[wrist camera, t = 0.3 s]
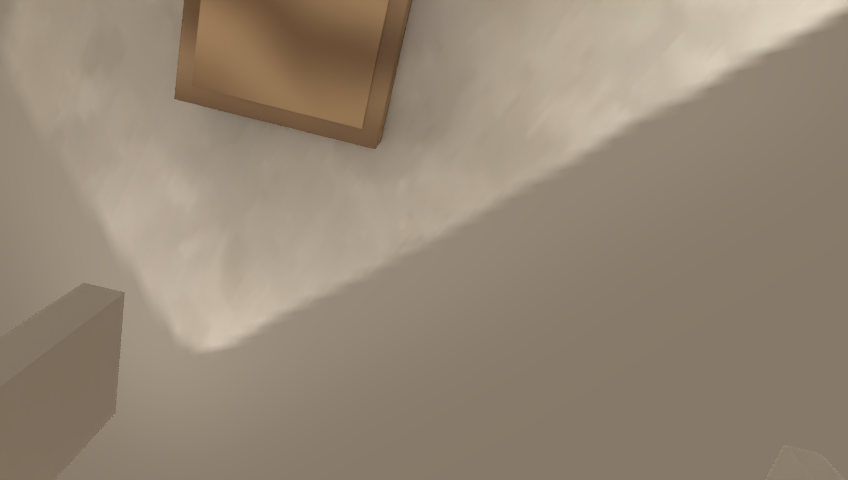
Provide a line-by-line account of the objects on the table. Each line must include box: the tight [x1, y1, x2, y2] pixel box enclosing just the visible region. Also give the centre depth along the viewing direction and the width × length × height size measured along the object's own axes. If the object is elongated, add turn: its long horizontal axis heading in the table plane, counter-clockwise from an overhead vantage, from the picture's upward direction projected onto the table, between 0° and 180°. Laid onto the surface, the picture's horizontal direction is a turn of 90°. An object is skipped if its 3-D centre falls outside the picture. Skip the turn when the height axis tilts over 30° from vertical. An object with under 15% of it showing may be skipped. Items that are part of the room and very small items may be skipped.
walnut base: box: [174, 0, 412, 149], centre depth 32 cm, size 12×12×3 cm
